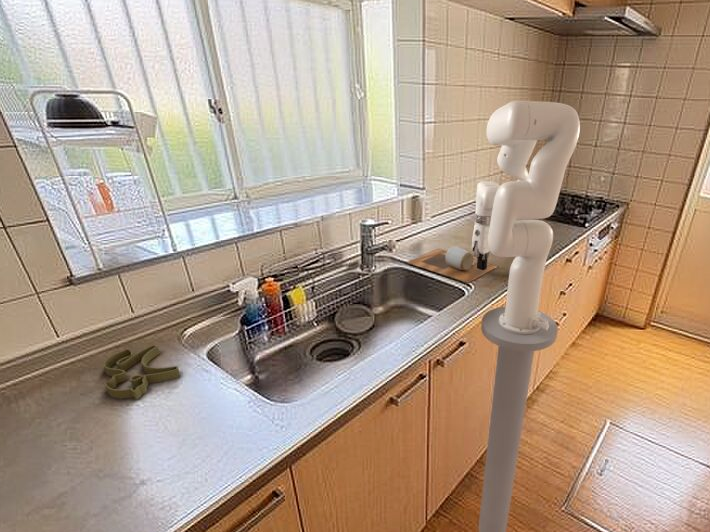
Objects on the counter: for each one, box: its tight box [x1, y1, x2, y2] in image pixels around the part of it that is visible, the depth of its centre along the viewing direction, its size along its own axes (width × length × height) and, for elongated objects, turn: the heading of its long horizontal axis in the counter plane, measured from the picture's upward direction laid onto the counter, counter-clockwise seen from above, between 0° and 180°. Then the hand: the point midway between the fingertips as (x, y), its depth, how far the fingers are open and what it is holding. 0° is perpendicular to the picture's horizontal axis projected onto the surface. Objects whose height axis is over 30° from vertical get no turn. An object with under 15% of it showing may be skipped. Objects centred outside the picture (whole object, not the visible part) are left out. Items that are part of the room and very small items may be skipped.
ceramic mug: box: [446, 245, 474, 271], centre depth 154 cm, size 11×8×8 cm
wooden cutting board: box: [406, 248, 498, 284], centre depth 158 cm, size 28×20×1 cm
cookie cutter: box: [102, 344, 181, 400], centre depth 90 cm, size 18×12×2 cm, turn 50°
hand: (481, 268), depth 151 cm, fingers closed
